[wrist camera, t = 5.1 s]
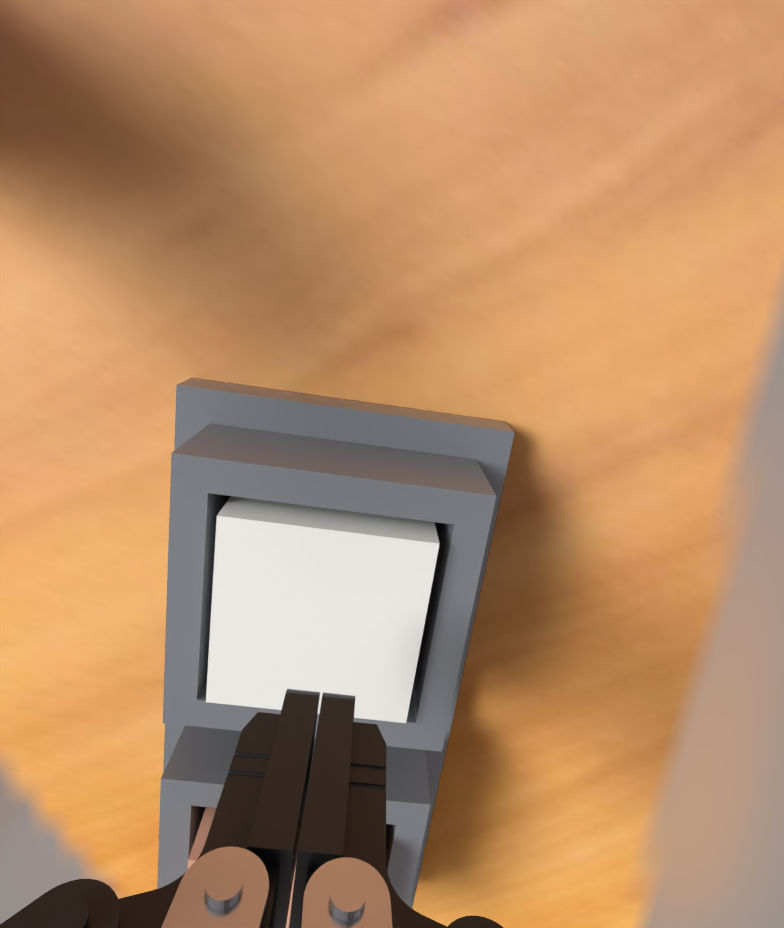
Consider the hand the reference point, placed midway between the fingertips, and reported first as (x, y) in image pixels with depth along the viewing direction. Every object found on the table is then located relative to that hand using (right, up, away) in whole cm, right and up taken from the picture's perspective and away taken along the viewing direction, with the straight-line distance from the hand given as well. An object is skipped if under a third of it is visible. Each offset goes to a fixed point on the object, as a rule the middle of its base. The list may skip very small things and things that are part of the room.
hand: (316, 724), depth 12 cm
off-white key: (-1, +2, +7) cm, 7 cm away
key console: (-1, -3, +11) cm, 11 cm away
